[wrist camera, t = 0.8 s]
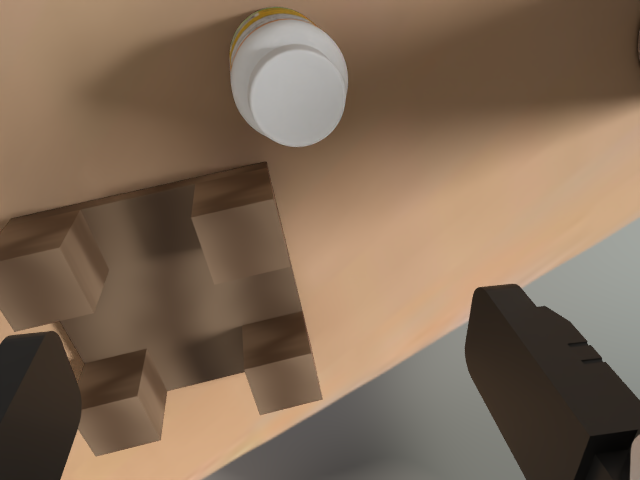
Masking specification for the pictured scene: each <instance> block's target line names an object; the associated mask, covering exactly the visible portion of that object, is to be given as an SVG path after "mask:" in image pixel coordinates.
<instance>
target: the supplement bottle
mask: <svg viewBox="0 0 640 480" xmlns="http://www.w3.org/2000/svg"><path fill="white" fill-rule="evenodd" d="M229 55H230V56H229V60H230V75H231V88H232V94H233V97H234V101H235V104H236V106H237V108H238V110H239V112H240V114H241V115H242V117H243V118H244V119H245V120H246V122H247V123H248V124H249V125H250V126H251V127H252V128H253V129H255V130H256V131H257V132H259V133H261V134H262V135H264V136H266V137H268V138H270V139H271V140H273V141H275V142H277V143H279V144H281V145H285V146H290V147H304V146H308V145H312V144H314V143H317V142H319V141H321V140H322V139H324V138H325V137H327V136H328V135H329V134H330V133H331V132H332V131H333V130H334V129H335V127H336V126H337V124H338V123H339V121H340V119H341V117H342V114H343V111H344V107H345V101H346V95H347V90H348V72H347V66H346V63H345V60H344V57H343V55H342V53H341V51H340V49H339V47H338V46H337V45H336V43H335V42H334V41H333V40H332V39H331V37H330V36H329V35H327V34H326V33H325V32H324V31H323V30H321V29H320V28H319V27H318V26H316V25H315V24H314V23H313V22H311V21H310V20H309V19H308V18H306V17H305V16H304V15H302V14H300V13H298V12H296V11H294V10H291V9H288V8H283V7H269V8H264V9H261V10H259V11H257V12H255V13H253V14H251V15H250V16H249V17H247V18H246V19H245V20H244V21H243V22H242V23H241V24H240V26H239V27H238V29H237V30H236V32H235V34H234V36H233V39H232V42H231V46H230V53H229Z"/></svg>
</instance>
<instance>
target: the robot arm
mask: <svg viewBox="0 0 640 480" xmlns="http://www.w3.org/2000/svg"><path fill="white" fill-rule="evenodd" d="M638 53H639V59H640V31H639V40H638ZM465 358H466V363H467V367H468V371H469V373H470V375H471V378H472V380H473V381H474V383H475V385H476V387H477V389H478V391H479V393H480V394H481V396H482V398H483V400H484V402H485V404H486V406H487V407H488V409H489V411H490V413H491V415H492V417H493V419H494V420H495V422H496V424H497V426H498V428H499V430H500V432H501V433H502V435H503V437H504V439H505V441H506V443H507V445H508V446H509V448H510V450H511V452H512V454H513V455H514V458H515V459H516V461H517V463H518V465H519V467H520V469H521V471H522V472H523V474H524V476H525V478H526V480H640V400H639V399H638V398H637V397H636V396H635V395H634V394H633V392H632V391H631V390H630V389H629V388H628V387H627V385H626V384H625V383H624V382H622V380H621V379H620V378H619V376H618V375H617V374H616V373H615V372H614V371H613V370H612V369H611V367H610V366H609V365H608V364H607V363H606V362H603V361H602V357H601V356H600V355H599V354H598V353H597V352H596V350H594V348H593V347H592V346H591V345H588V344H587V340H586V339H585V338H584V337H583V336H582V335H581V334H580V333H579V331H578V330H577V329H576V328H575V327H574V326H573V325H572V323H571V322H570V321H568V320H567V319H565V318H563V317H562V316H560V315H559V314H557V313H555V312H554V311H552V310H551V309H549V308H547V307H546V306H541V307H536V305H535V304H534V303H533V302H532V301H531V299H530V298H529V297H528V296H527V295H526V294H525V292H524V291H523V290H522V289H521V288H520V286H518V285H517V284H506V285H497V286H487V287H479V288H477V289H476V290H475V291H474V294H473V298H472V305H471V311H470V317H469V324H468V330H467V336H466V343H465ZM81 411H82V400H81V393H80V389H79V386H78V384H77V381H76V378H75V376H74V373H73V370H72V368H71V365H70V363H69V360H68V357H67V355H66V352H65V349H64V347H63V344H62V341H61V339H60V337H59V335H58V334H57V333H56V332H54V331H48V332H39V333H29V334H20V335H11V336H8V337H6V338H5V339H4V340H3V341H2V343H1V344H0V480H60V479H61V476H62V473H63V470H64V467H65V464H66V462H67V459H68V456H69V453H70V450H71V447H72V444H73V441H74V438H75V435H76V432H77V429H78V426H79V423H80V419H81Z"/></svg>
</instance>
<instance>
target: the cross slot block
mask: <svg viewBox="0 0 640 480" xmlns="http://www.w3.org/2000/svg"><path fill="white" fill-rule="evenodd" d="M0 310H1V312H2V313H3V315H4V316H5V318H6V319H7V321H8V322H9V324H10V326H11V327H12V329H13V330H14V332H16V331H20V330H24V329H29V328H33V327H37V326H41V325H46V324H50V323H54V322H58V321H60V322H61V324H62V326H63V327H64V329H65V331H66V333H67V334H68V336H69V338H70V340H71V341H72V343H73V345H74V346H75V348H76V350H77V352H78V353H79V355H80V357H81V359H82V360H83V362H84V366H83V369H82V372H81V375H80V378H79V381H78V386H79V389H80V393H81V400H82V411H81V419H80V423H79V426H78V430H79V432H80V433H81V435H82V436H83V438H84V439H85V441H86V442H87V444H88V445H89V447H90V448H91V450H92V452H93V453H94V455H95V456H100V455H104V454H108V453H112V452H116V451H120V450H124V449H128V448H132V447H136V446H140V445H144V444H148V443H152V442H155V441H159V440H161V434H162V427H163V419H164V411H165V403H166V396H167V391H170V390H174V389H178V388H182V387H186V386H190V385H194V384H198V383H202V382H206V381H210V380H214V379H218V378H222V377H226V376H230V375H234V374H238V373H243V372H245V374H246V377H247V379H248V382H249V385H250V388H251V391H252V394H253V397H254V399H255V402H256V405H257V408H258V411H259V414H260V415H263V414H267V413H271V412H275V411H279V410H283V409H287V408H291V407H294V406H298V405H302V404H306V403H310V402H314V401H318V400H322V394H321V390H320V385H319V381H318V376H317V371H316V367H315V362H314V358H313V353H312V349H311V344H310V340H309V336H308V332H307V328H306V324H305V319H304V315H303V311H302V307H301V303H300V299H299V295H298V291H297V286H296V282H295V278H294V274H293V270H292V266H291V262H290V257H289V253H288V249H287V245H286V241H285V237H284V233H283V229H282V224H281V220H280V216H279V212H278V208H277V204H276V200H275V195H274V191H273V187H272V183H271V179H270V175H269V171H268V167H267V162H263V163H259V164H254V165H250V166H245V167H241V168H236V169H232V170H227V171H223V172H218V173H214V174H210V175H205V176H201V177H196V178H192V179H187V180H183V181H178V182H174V183H169V184H165V185H160V186H156V187H151V188H147V189H142V190H138V191H133V192H129V193H125V194H120V195H116V196H111V197H107V198H102V199H98V200H93V201H89V202H84V203H80V204H75V205H71V206H66V207H62V208H57V209H53V210H49V211H44V212H40V213H35V214H31V215H26V216H22V217H17V218H13V219H11V220H10V221H9V222H8V224H7V225H6V226H5V227H4V229H3V230H2V231H1V232H0Z"/></svg>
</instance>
